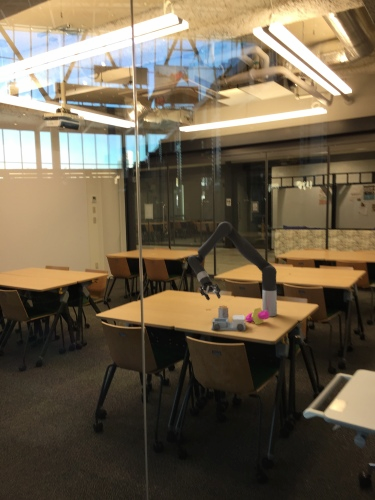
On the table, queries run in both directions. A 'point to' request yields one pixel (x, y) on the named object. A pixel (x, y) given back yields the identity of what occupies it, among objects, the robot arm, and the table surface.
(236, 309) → the table surface
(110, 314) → the table surface
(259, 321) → the toy
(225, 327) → the chassis
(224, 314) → the engine block
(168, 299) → the table surface
